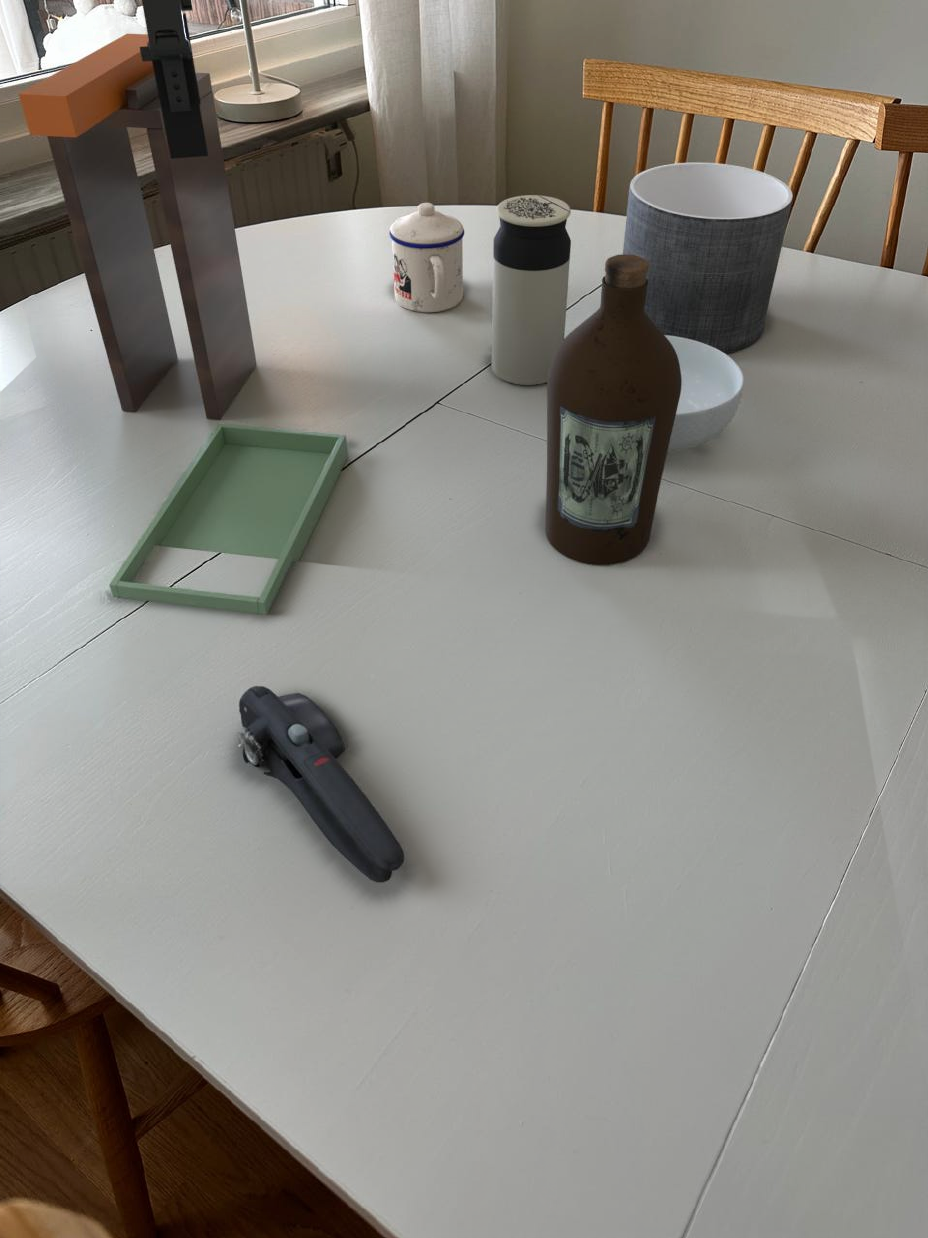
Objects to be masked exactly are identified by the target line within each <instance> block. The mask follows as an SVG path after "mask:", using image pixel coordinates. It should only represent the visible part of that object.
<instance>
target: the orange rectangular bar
mask: <svg viewBox="0 0 928 1238" xmlns="http://www.w3.org/2000/svg"><path fill="white" fill-rule="evenodd" d="M148 41H149V38H148V33H147V34H146V33H126V34H123V35H122V36H120V37H118V38H116V39H114V40H113V41H111V42H110V43H108V44H106V45H104V46H102V47H101V48H97V50H95V51H93V52H91V53H90V54H88V55H85V56H84V57H82V58H81V59H79V60H77V61H75V62H73V63H72V64H71V63H70V64H69V65H68V66H66V67H65V68H62V69H61V70H59V71H57V72H55V73H54V74H52V75H50V76H48V77H46V78H45V79H43V80H41V81H39V82H37V83H35V84H34V85H32V86H30V87H28V88H27V89H25V90H23V91H21V92H19V93H18V98H19V100H20V105H21V108H22V112H23V115H24V118H25V119H24V120H25V122H26V126H27V131H28V132H29V135H30V136H38V137H39V136H40V137H47V136H57V137H78V136H79V135H81V134H82V133H84V132H85V131H87V130H88V129H90V128H91V127H93V126H94V125H96V124H97V123H99V122H100V121H102V120H103V119H105V118H106V117H107V116H109V115H110V114H112V113H113V112H115V111H116V110H118V109H119V108H121V107H122V106H124V105H125V104H127V103H128V102H127V97H126V93H125V89H127V88H128V87H130V86H131V85H133V84H134V83H136V82H137V81H139V80H140V79H142V78H143V77H145V76H146V75H148V74H150V73H151V72H153V71H154V68H153V63H152V61H145V62H143V61H142V57H141V52H140V47H145V46H148V45H147V42H148Z"/></svg>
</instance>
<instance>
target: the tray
mask: <svg viewBox="0 0 928 1238" xmlns="http://www.w3.org/2000/svg"><path fill="white" fill-rule="evenodd" d="M348 451H349V450H348V441H347V434H338V433H331V432H330V433H329V432H318V431H309V430H308V431H307V430H298V429H297V430H296V429H287V428H286V429H285V428H274V427H264V426H253V425H243V424H242V425H241V424H232V423H231V424H230V423H223V422H222V423H220V422H218V423H217V424H216V426H215V427H214V429H213V430H212V432H211V433H210V435H209V436H208V438H207V440H206V441H205V443H204V444H203V445H202V446H201V448H200V450H199V451H198V452H197V454H196V456H195V457H194V459H192V462H191V463H190V464H189V466H188V468H187V469H186V470H185V472H184V473H183V475H182V476H181V478H180V479H179V481H178V482H177V484H176V485H175V487H174V488H173V489H172V491H171V492H170V494H169V495H168V497H167V498H166V500H165V501H164V503H163V504H162V506H161V507H160V509H159V510H158V512H157V513H156V515H155V516H154V517H153V519H152V521H151V522H150V523H149V525H148V527H147V528H146V530H145V531H144V533H143V534H142V535H141V537H140V539H139V540H137V543H136V544H135V545H134V547H133V548H132V550H131V552H130V553H129V555H128V556H127V558H126V559H125V560H124V562H123V563H122V565H121V566H120V568H119V570H118V571H117V573H116V574H115V575H114V577H113V578H112V580H110V583H109V588H110V592H111V595H112V597H113V598H121V599H127V600H128V599H129V600H136V601H144V602H145V601H146V602H154V603H161V604H162V603H163V604H171V605H178V606H179V605H180V606H186V607H187V606H189V607H194V608H195V607H196V608H204V609H215V610H221V611H230V612H239V613H247V614H254V615H255V614H256V615H265V616H266V615H268V613H269V612H270V611H269V610H270V609H271V606H272V604H273V603H274V600H275V598H276V596H277V594H278V592H279V590H280V588H281V586H282V583H283V581H284V580H285V577H286V576H287V573H288V571H289V569H290V567H291V565H292V562H299V561H300V559H301V557H302V555H303V553H304V551H305V548H306V547H307V544H308V543H309V540H310V538H311V536H312V533H313V532H314V530H315V527H316V525H317V523H318V521H319V520H320V517H321V514H322V512H323V510H324V509H325V506H326V504H327V501H328V500H329V498H330V496H331V494H332V492H333V489H334V487H335V485H336V483H337V481H338V479H339V476H340V474H341V472H342V470H343V468H344V467H345V464H346V462H347V459H348V458H349V452H348ZM154 546H155V547H164V548H173V549H182V550H192V551H200V552H209V553H219V554H227V555H228V554H229V555H238V556H245V557H246V556H247V557H253V558H264V559H272V560H277V562H276V563H275V566H274V568H273V570H272V572H271V574H270V576H269V577H268V579H267V581H266V584H265V586H264V588H263V590H262V592H261V594H260V596H250V595H242V594H234V593H224V592H218V591H217V592H216V591H207V590H199V589H190V588H181V587H173V586H164V585H156V584H146V583H140V582H139V583H137V582H131V581H132V580H133V579H134V576H135V575H136V573H137V572H138V570H139V569H140V567H141V566H142V564H143V563H144V562H145V560H146V558H147V557H148V555H149V554H150V553H151V550H152V549H153V547H154Z"/></svg>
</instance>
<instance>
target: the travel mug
mask: <svg viewBox="0 0 928 1238" xmlns="http://www.w3.org/2000/svg"><path fill="white" fill-rule="evenodd" d="M571 213H572V209H571V207H570V205H569V204H568V203H566V202H565V201H563V200H561V199H559V198H556V197H553V196H547V195H537V194H530V195H529V194H528V195H527V194H526V195H518V196H513V197H509V198H507V199H505V200H502V201H501V202H500V203H498V205H497V207H496V214H497V216H498V218H499V228H498V230H497V231H496V234H495V235H494V237H493V251H492V252H493V253H492V254H493V255H492V257H493V259H492V310H491V311H492V315H491V316H492V318H491V370H492V373H493V374H494V375H495V376H496V377H498V378H499V379H501V380H502V381H505V382H508V383H511V384H514V385H518V384H519V386H536V384H538V385H543V384H545V383H547V379H548V373H549V368H550V365H551V362H552V360H553V357H554V355H555V353H556V350H557V349H558V347H559V345H560V344H561V342H562V341H563V340H564V339H565V333H566V319H567V305H568V304H567V303H568V292H569V291H568V289H569V277H570V262H571V261H570V260H571V247H572V240H571V237H570V235H569V232H568V230H567V228H566V227H567V222H568V219H569V217H570V216H571Z"/></svg>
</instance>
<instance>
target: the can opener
mask: <svg viewBox="0 0 928 1238" xmlns="http://www.w3.org/2000/svg"><path fill="white" fill-rule="evenodd" d="M238 707H239V709H238V711H239V714H240V720H241V725H242V731H243V732H239V731H236V732H235V733H236V736H237V739H238V741H239V744H238V745H237V747H238V748H242V758H243V761H244V763H245V764H248V763H249V764H250V765H252V766H253V767H255V768H260V767H261V766H265V767H266V768H267V769H268V771H264V772H263V775H265V776H268V777H272V778H275V779H277V780H278V781H280V782H281V783H282V784H284V785H285V786H286V787H287V788H288V789H289V790H290V791H291V792H292V794H293V795H294V796H295V797H296V798H297V800H298V801H299V802H300V804H301V805H302V806H303V808H304V810H305V811H306V812H307V813H308V815H309V817H310V818H311V819H312V821H313V822H314V823H315V825H316V826H317V828H318V829H319V830H320V832H321V833H322V834H323V836H324V837H325V838H326V839H327V841H328V842H329V843H330V844H331V845H332V846H333V848H334V849H336V851H338V852H339V854H341V855H342V856H343V857H344V858H345V859H346V860H347V861H348V862H349V863H350V864H351V865H352V866H354V868H356V869H357V870H358V871H360V873H362V874H363V876H365V877H366V878H368V879H369V880H371V881H372V882H374V883H377V884H378V883H379V884H380V883H382V884H383V883H386V882H388V881H389V880H390V879H391V878H392V874H393V872H394V871H397V870H398V869H400V868H401V867H402V866H403V864H404V862H405V852H404V849H403V848H402V846H401V844H400V842H399V841H398V840H397V838H396V836H395V835H394V833H393V832H392V830H391V829H390V827H389V826H388V824H387V823H386V822H385V820H384V819H383V817H382V816H381V815H380V813H379V811H378V810H377V809H376V807H375V806H374V805H373V804H372V802H371V801H370V800H369V799H368V797H367V795H366V794H365V793H364V791H363V790H362V789H361V787H360V786H359V785H358V784H357V783H356V782H355V780H354V779H353V778H352V777H351V775H350V774H349V773H348V772H347V771H346V769H345V768H344V767H343V765H341V763H340V762H339V761H338V760H337V759H339V757H340V756H341V755H342V754H343V753H344V752H345V751H346V746H345V743H344V741H343V738H342V736H341V734H340V733H339V730H338V729H337V727H336V725H335V724H334V722H333V721H332V719H331V718H330V716H328V715H327V713H326V712H325V711H324V710H323V709H322V708H321V707H320V706H319V705H318V704H317V703H316V702H314V701H313V700H312V699H311V698H309V697H308V696H306V695H305V694H303V693H300V692H295V693H289V694H284V695H280V696H278V695H277V694H276V693H275V692H274V691H272V689H270V688H269V687H267V686H263V685H254V686H251V687H249V688H248V689H247V690H245V692H244V693H243V694H242V695H241V696H240V699H239V701H238Z"/></svg>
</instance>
